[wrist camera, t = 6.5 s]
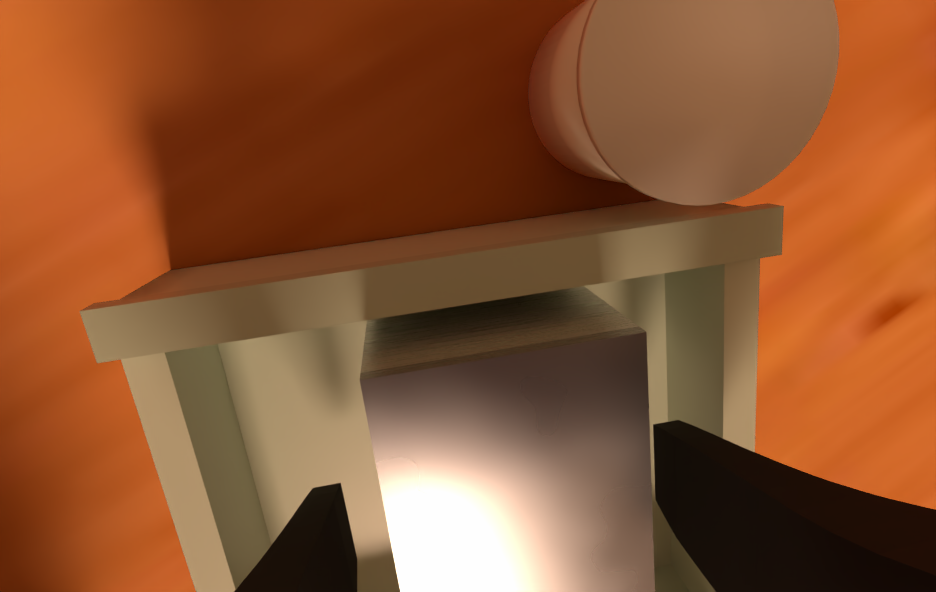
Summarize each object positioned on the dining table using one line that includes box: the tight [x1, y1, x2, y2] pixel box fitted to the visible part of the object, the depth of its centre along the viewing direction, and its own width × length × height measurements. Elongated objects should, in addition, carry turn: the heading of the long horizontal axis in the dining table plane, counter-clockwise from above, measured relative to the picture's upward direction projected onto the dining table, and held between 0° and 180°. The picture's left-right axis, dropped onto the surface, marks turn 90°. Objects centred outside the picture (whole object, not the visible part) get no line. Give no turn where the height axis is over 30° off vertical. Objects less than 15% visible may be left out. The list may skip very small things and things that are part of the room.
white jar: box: [528, 0, 839, 206], centre depth 11 cm, size 5×5×4 cm
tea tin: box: [360, 286, 655, 592], centre depth 12 cm, size 5×8×5 cm, turn 7°
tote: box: [80, 200, 784, 592], centre depth 14 cm, size 13×12×4 cm
